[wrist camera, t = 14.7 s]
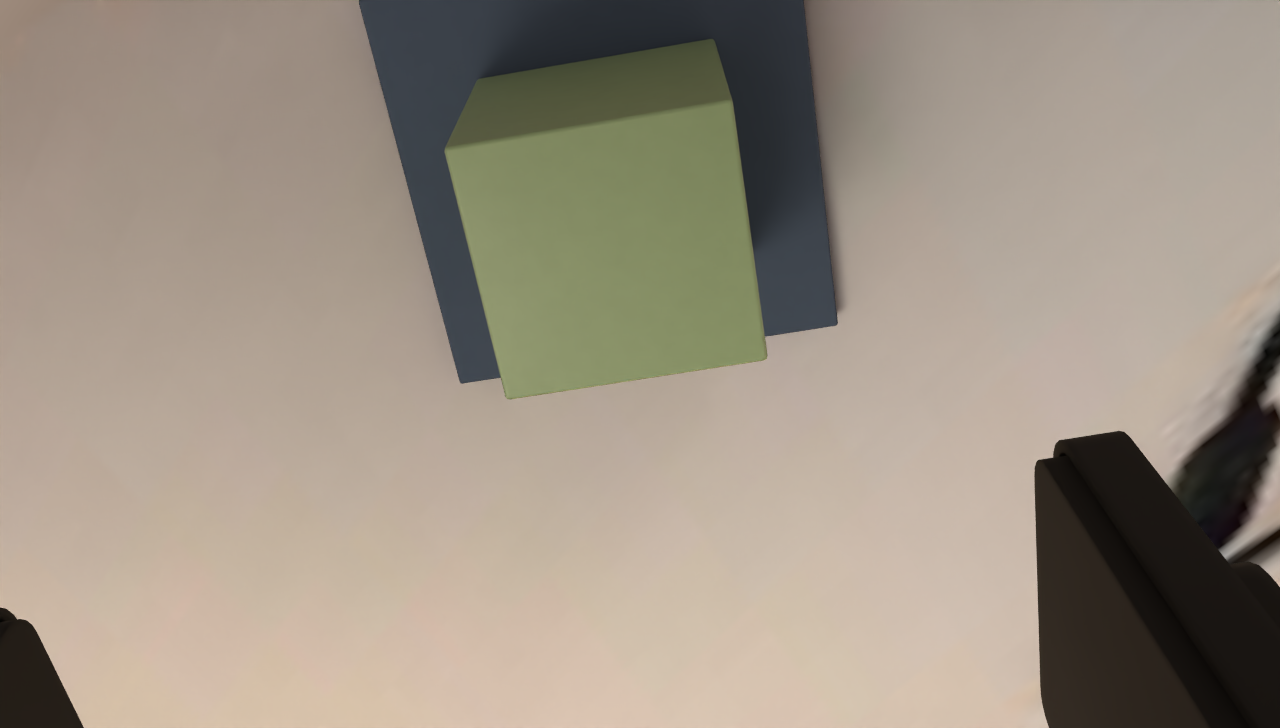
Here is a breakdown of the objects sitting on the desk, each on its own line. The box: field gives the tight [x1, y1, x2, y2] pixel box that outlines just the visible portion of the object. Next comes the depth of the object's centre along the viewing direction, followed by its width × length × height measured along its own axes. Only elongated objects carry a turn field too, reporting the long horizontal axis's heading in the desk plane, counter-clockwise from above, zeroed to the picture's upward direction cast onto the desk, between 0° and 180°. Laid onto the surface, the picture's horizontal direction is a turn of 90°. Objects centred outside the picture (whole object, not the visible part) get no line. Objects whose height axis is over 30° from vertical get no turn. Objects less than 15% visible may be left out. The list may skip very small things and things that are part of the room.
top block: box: [445, 39, 767, 399], centre depth 22 cm, size 4×4×4 cm
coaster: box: [359, 0, 838, 383], centre depth 24 cm, size 8×8×1 cm
